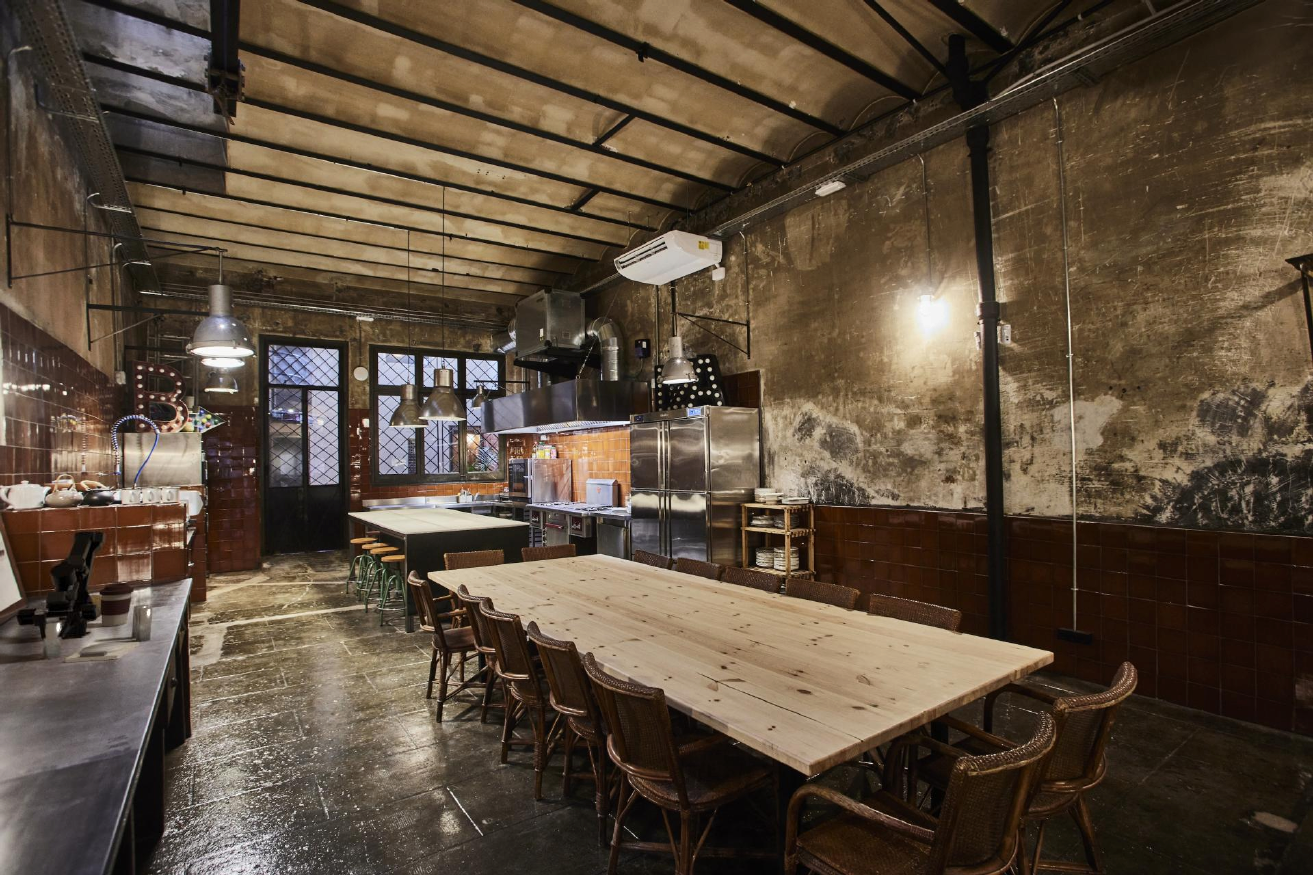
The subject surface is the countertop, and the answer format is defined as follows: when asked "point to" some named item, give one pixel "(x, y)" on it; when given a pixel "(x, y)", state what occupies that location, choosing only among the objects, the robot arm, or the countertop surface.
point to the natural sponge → (97, 602)
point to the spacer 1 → (52, 639)
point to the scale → (102, 651)
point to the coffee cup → (115, 604)
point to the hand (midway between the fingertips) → (51, 637)
